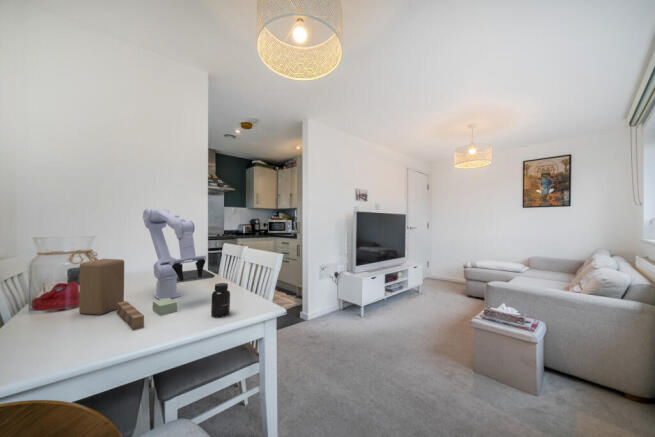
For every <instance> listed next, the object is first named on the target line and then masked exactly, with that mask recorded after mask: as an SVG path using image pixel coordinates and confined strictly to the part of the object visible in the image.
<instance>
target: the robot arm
mask: <svg viewBox="0 0 655 437" xmlns="http://www.w3.org/2000/svg"><path fill="white" fill-rule="evenodd" d="M142 219H143V223H144V226H145V228H147V229H148V230H149V234H150V237H151V240H152V243H153V248H154V250H155V253H156V257H157V259H158V260H157V261H156V262H155V263H154V264H153V274H154V277H155V278H156V279H157V280H156V290H155V291H156V294H154V295H153V296H154V297H155V298H157V300H162V299H166V298H171V299H175V298H178V297H181V295H180V294H178V293H177V288H178V287H177V286H178V283H177V279H179V280H178V281H179V282H183V281H184V274H183V264H189V263H193V262H194V263H195V266H196V267H195V268H196V272H197V278H202V277H203V270H204V266H205V263H206V260H207V255H205V254H204V255H198V256H197V255H196V249H195V243H194V233H195V229H196V228H195V224H194V222H193V221H191V220H190V221H189V220H188V221H187V220H185V219H184V218H181V217H180V215H179V214H178V215H177V214H176V215H175V214H174V215H173V214H171V213H170V210H169V209H166V208H165V209H164V208H163V209H158V208H157V209H156V208H145V210H143V212H142ZM167 226H169V227H170V228H172V229H173V231H174V233H175V234H174V235H175V236H176V239H177V240H178V246H179V253H180V258H178V259H177V258H175V257H172V256H171V254H170V251H169V247H168V245H167V244H168V243H167V241H166V238H165V235H164V231H163V229H164V228H166V227H167Z"/></svg>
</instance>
